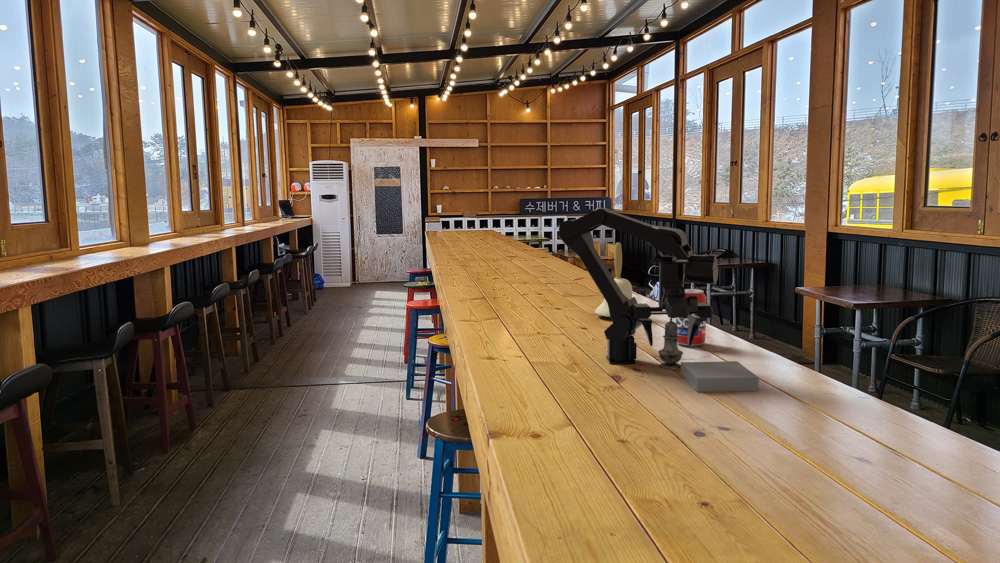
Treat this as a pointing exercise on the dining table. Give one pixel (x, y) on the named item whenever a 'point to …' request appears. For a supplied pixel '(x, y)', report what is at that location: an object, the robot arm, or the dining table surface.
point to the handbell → (622, 283)
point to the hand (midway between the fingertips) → (670, 345)
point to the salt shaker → (670, 348)
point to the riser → (719, 376)
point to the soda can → (683, 323)
